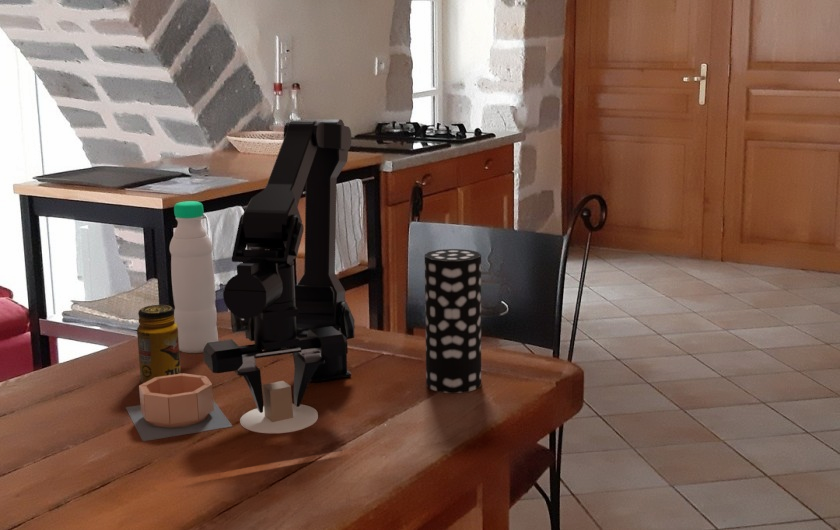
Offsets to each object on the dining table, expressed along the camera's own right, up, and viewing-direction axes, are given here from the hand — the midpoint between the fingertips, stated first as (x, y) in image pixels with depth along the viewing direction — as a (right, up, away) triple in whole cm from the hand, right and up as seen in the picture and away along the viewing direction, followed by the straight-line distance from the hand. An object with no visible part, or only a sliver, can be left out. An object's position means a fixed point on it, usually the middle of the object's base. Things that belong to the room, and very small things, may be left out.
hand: (278, 408), depth 147 cm
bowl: (-14, -1, +2) cm, 14 cm away
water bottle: (-18, +5, +35) cm, 40 cm away
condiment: (-21, +1, +17) cm, 27 cm away
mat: (-14, -2, +2) cm, 14 cm away
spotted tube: (+24, +2, +15) cm, 29 cm away
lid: (0, -2, 0) cm, 2 cm away
